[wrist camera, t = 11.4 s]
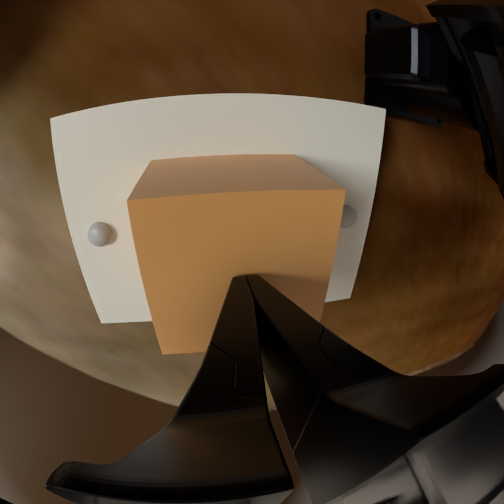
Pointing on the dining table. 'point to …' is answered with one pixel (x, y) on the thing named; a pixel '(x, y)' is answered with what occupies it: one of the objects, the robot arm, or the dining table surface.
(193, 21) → the dining table surface
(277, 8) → the dining table surface
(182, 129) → the socket plate
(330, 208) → the plug
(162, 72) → the dining table surface
